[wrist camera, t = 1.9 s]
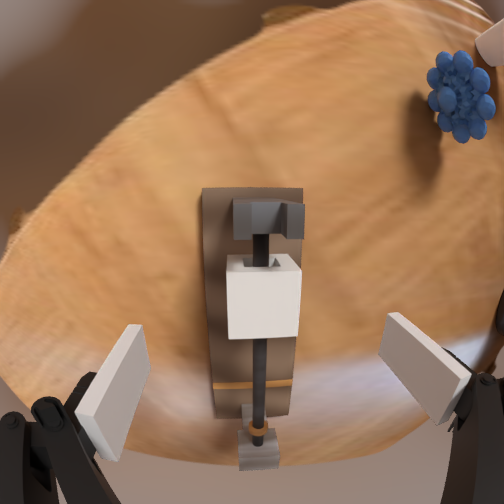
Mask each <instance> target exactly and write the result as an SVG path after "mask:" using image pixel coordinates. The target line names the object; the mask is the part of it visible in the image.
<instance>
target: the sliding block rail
mask: <svg viewBox="0 0 504 504" xmlns="http://www.w3.org/2000/svg"><path fill="white" fill-rule="evenodd" d="M202 217H203V250H204V273H205V292H206V308H207V323H208V336H209V348H210V360H211V370H212V381H213V390H214V399H215V408H216V416H217V418H242V424H243V430H237V433H238V453H239V468H240V471H246V470H247V471H248V470H265V469H276V468H278V467H279V460H280V452H279V447H278V442H277V437H276V432H275V428H271V429H268V423H267V417H272V416H283V415H288V413H289V405H290V397H291V388H292V381H293V380H292V378H293V368H294V358H295V347H296V336H293V337H277V338H256V339H229V336H228V311H227V280H226V269H227V255H241V254H253V267H269V254H288V255H289V256H290V257H291V258H292V260H293V261H294V262H295V263H296V264H297V265H298V267H299V268H300V269H301V252H302V239H304V220H305V204H303V188H253V187H247V188H202Z"/></svg>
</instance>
